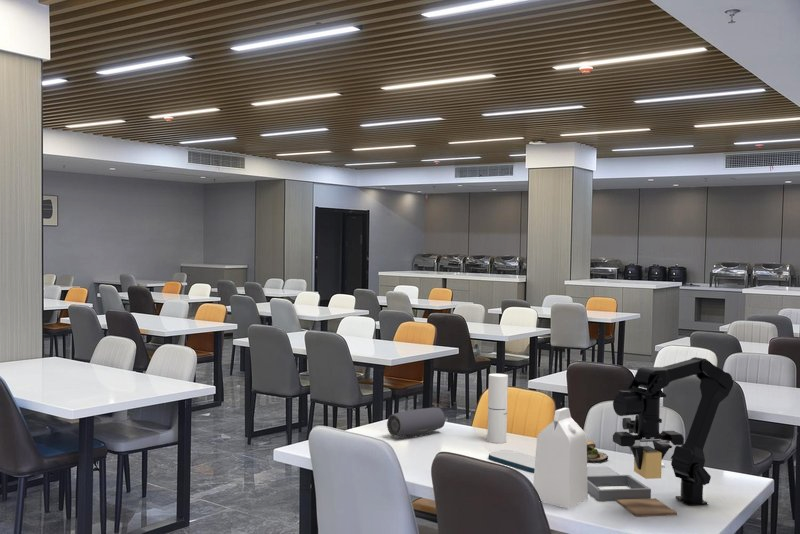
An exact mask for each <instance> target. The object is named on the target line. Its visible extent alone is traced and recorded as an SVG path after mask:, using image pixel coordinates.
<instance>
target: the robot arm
mask: <svg viewBox="0 0 800 534" xmlns="http://www.w3.org/2000/svg"><path fill="white" fill-rule="evenodd" d="M692 376H695V377H696V378H697V379H698V380H699V381H700V384H699V390H700V394H701V398H700V401H699V404H698V406H697V409H696V411H695V414H694V418H693V421H692V422H691V426H690V429H689V431H688V434H687V437H686V440H685V438H684V435H683V434H682V433H679V432H678V431H675V430H662V431H661V432H660V424H661V423H663V418H660V417H661V416H660V413H661V406H660V405H661V398H667V393H664V391H663V390H662V389H664V388H666V387H668V386H669V384H670V383H672V382H675V381H677V380H681V379H684V378H688V377H692ZM733 387H734V379H733V377H732V375H731V374H730V373H729V372H725V370H723V369H721V368H720V367H718V366H717V365H714V364H713V363H712V362H711V361H709V360H708V359H707V358H702V357H696V356H694V357H692V358H689V359H687V360H683V361H679V362H676V363H672V364H668V365H664V366H645V367H643V366H642V367H639V368H638V369H637V371H636V373H635V375H634V377H633V378H632V380H631V382H630V383H629V385H628V386H627V389H626V390H618V392H617V393H618V394H617V395H616V396H615V397H614V400H613V402H612V407H613V410H614V412H615V414H616V415H617V416H619V417H623V418H622V422H621V423H622V425H621V426H622V429H623V430H628V431H614V433H613V435H612V442H613V443H615V444H617V445H618V446H620V447H629V449H630V451H631V453H632V455H633V458H635V461H636V464H637V467H638V469H639V470H641V466H642V456H643V447H642V446H643V445H641V443H645V442H646V443H647V442H649V443H650V442H652V445H653V447H654V448H653V449H655V450H657V451H659V452H661V453H662V460H663V459H664V457H665V456H666V454H667V453H668V451H669V449H672V448H673V446H675V447H674V450H673V454H672V455H671V457H670V459H671V462H670V464H671V468H672V470H673V473H674V476H675V477H676V478H678V479H680V495H676V496H675V499H677V500H678V501H680V502H681V503H683V504H685V506H699V505H708V502H707V501H705V500H704V496H703V495H704V486H706V485H708V484H710V481H711V480H712V479H711V478H712V475H710V473H708V471H707V470H706V469H705V464H706V459H705V453H704V448H705V444H706V442H707V439H708V437H709V433H710V430H711V428H712V424H713V422H714V419H715V416H716V414H717V411H718V407H719V405H720V403H721V402H722V401H724V400H725V399H726V398H727V397H728V396H729V394H730V392H731V391H732V389H733ZM624 416H625V417H624ZM627 416H635V418H634V419H633V420H632V418H631V417H627ZM670 443H671V444H672V445H671V444H670Z"/></svg>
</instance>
